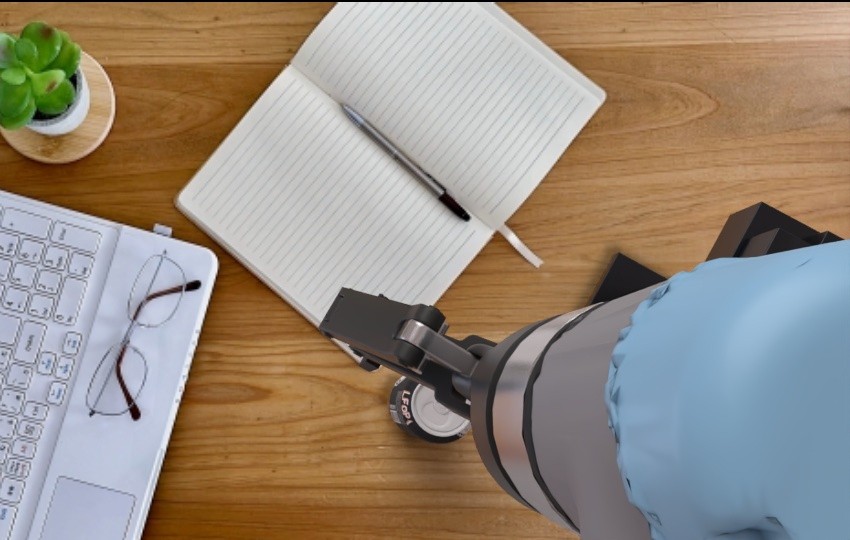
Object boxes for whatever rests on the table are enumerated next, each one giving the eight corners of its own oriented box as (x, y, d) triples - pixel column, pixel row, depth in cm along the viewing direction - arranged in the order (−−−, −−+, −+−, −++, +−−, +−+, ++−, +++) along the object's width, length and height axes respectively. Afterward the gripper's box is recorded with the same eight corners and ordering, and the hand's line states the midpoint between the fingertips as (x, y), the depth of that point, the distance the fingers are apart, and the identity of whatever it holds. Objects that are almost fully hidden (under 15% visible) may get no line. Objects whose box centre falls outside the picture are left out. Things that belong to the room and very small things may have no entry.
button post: (674, 444, 73) (882, 473, 47) (548, 372, 74) (680, 359, 48) (739, 323, 74) (977, 284, 48) (613, 253, 75) (777, 178, 49)
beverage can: (467, 396, 74) (498, 397, 62) (429, 450, 74) (452, 461, 62) (413, 357, 75) (433, 350, 63) (374, 410, 74) (387, 413, 62)
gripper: (1005, 519, 28) (704, 465, 49) (336, 145, 31) (324, 246, 52) (903, 730, 27) (642, 583, 48) (227, 326, 30) (260, 354, 51)
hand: (477, 409), depth 50 cm, fingers open, 13 cm apart
